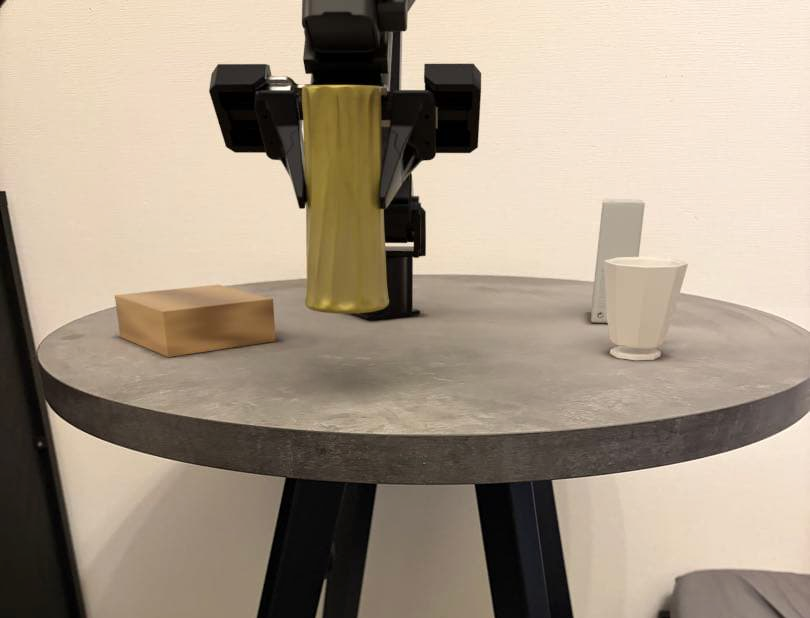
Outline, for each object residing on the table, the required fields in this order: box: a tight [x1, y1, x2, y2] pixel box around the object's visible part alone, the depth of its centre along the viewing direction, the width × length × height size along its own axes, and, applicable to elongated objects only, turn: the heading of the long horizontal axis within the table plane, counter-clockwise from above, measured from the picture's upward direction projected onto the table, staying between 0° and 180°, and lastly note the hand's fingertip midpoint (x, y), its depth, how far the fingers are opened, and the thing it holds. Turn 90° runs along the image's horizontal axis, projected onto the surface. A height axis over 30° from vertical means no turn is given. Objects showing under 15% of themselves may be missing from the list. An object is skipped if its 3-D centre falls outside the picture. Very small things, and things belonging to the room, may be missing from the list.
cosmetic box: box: [590, 198, 646, 324], centre depth 91 cm, size 6×4×12 cm
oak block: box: [114, 284, 276, 358], centre depth 83 cm, size 11×11×4 cm
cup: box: [604, 256, 689, 361], centre depth 78 cm, size 7×10×8 cm
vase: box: [302, 85, 389, 315], centre depth 60 cm, size 6×6×14 cm
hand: (341, 204), depth 59 cm, fingers closed on vase, 5 cm apart
